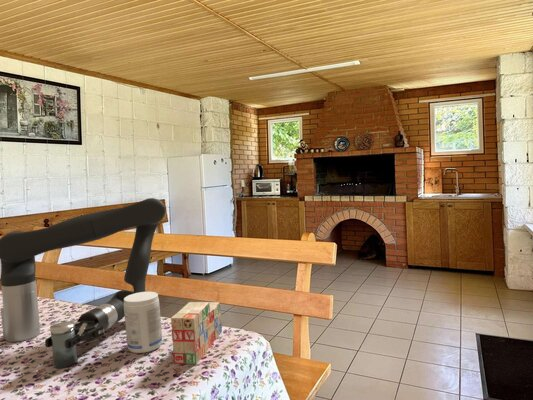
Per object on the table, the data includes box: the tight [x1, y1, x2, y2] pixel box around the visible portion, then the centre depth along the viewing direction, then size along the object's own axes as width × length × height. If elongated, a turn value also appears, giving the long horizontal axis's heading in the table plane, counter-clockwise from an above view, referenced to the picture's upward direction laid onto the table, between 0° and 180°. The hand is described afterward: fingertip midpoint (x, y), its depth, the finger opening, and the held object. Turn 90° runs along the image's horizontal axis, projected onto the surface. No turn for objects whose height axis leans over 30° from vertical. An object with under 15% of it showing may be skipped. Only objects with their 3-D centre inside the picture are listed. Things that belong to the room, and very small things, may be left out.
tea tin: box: [49, 320, 78, 369], centre depth 103 cm, size 6×6×10 cm
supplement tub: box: [124, 291, 163, 354], centre depth 111 cm, size 10×10×15 cm
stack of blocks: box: [170, 301, 223, 365], centre depth 110 cm, size 21×6×12 cm, turn 169°
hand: (56, 344), depth 100 cm, fingers closed on tea tin, 5 cm apart
